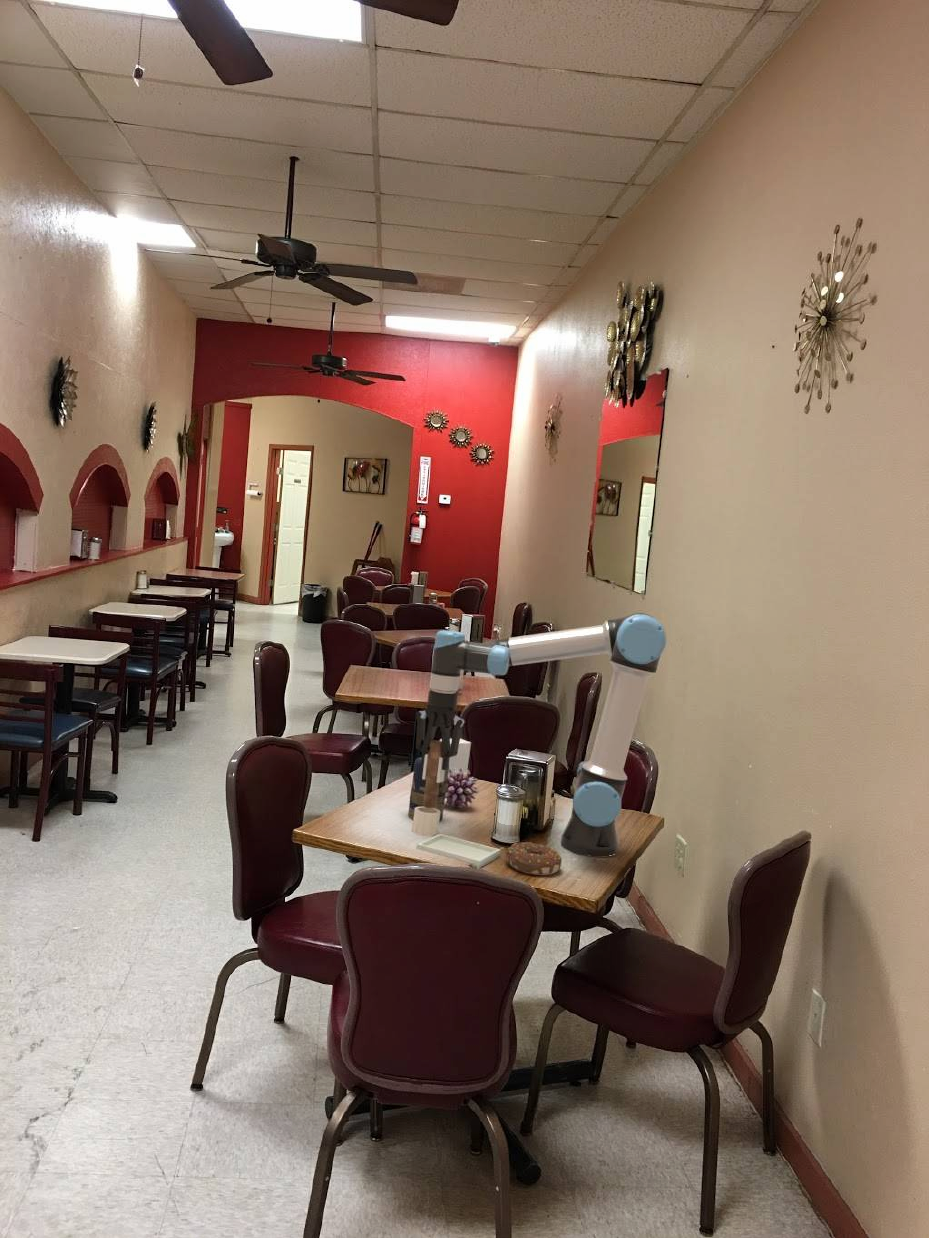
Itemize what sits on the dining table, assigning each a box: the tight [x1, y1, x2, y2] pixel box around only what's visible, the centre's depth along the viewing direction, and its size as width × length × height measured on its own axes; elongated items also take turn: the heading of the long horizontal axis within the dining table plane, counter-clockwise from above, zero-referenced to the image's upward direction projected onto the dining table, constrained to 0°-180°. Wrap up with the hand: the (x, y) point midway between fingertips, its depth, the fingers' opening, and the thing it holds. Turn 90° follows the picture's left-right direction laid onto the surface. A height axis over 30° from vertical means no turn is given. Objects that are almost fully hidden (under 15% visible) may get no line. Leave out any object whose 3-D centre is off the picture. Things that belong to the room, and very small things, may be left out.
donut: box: [504, 841, 562, 876], centre depth 247 cm, size 14×14×5 cm
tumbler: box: [411, 807, 440, 837], centre depth 263 cm, size 7×7×6 cm
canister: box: [407, 756, 449, 823], centre depth 276 cm, size 10×10×18 cm
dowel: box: [423, 740, 442, 808], centre depth 262 cm, size 4×4×17 cm
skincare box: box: [439, 738, 472, 775], centre depth 316 cm, size 8×7×16 cm
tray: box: [415, 833, 502, 869], centre depth 250 cm, size 17×13×2 cm
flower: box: [445, 768, 479, 809], centre depth 294 cm, size 12×12×12 cm
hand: (432, 779), depth 262 cm, fingers closed on dowel, 3 cm apart
